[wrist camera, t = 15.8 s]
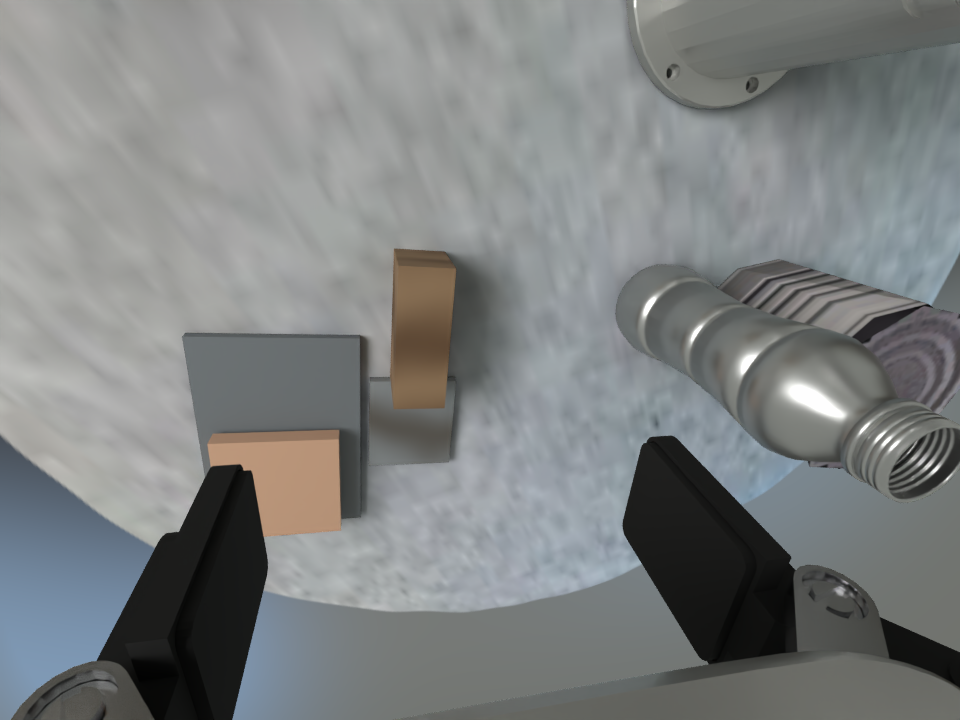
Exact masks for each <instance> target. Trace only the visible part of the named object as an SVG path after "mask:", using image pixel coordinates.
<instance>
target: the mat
mask: <svg viewBox="0 0 960 720" xmlns="http://www.w3.org/2000/svg"><path fill="white" fill-rule="evenodd" d="M182 339H183V345H184V351H185V357H186V363H187V369H188V375H189V382H190V388H191V394H192V400H193V406H194V412H195V418H196V424H197V430H198V437H199V443H200V449H201V455H202V461H203V467H204V473H205V477H206V475H207V473H208V471H209V469H210V468H211V465H210V458H209V452H208V445H207V444H208V442H209V440H210V438H211V436H212V434H219V433H250V432H281V431H313V430H339V433H340V474H341V516H342V519H344V518H357V517H361V479H360V335H301V334H221V333H185V334H184V335H183V336H182Z"/></svg>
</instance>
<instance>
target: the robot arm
mask: <svg viewBox="0 0 960 720" xmlns="http://www.w3.org/2000/svg"><path fill="white" fill-rule="evenodd" d="M626 1H627V15H628V25H629V29H630V34H631V38H632V42H633V47H634V49H635V51H636V54H637V56H638V58H639V61H640V63H641V65H642V67H643V69H644V70H645V72H646V73H647V75H648V76H649V78H650V79H651V81H652V82H653V83H654V84H655V85H656V86H657V87H658V88H659V89H660V90H661V91H662V92H663V93H664V94H665V95H666V96H668V97H670V98H672V99H673V100H675V101H677V102H679V103H680V104H683V105H687V106H690V107H694V108H704V109H716V108H724V107H732V106H735V105H738V104H741V103H744V102H747V101H749V100H751V99H753V98H754V97H756V96H758V95H760V94H761V93H763V92H765V91H766V90H768V89H769V88H770V87H771V86H772V85H774V84H775V83H776V82H777V81H778V80H780V79H781V78H782V77H783V76H784V75H785V74H786V73H787V71H788V70H789V69H795V68H801V67H807V66H814V65H820V64H827V63H833V62H839V61H846V60H852V59H858V58H865V57H871V56H878V55H884V54H890V53H897V52H903V51H910V50H916V49H922V48H929V47H935V46H941V45H948V44H954V43H960V0H626ZM667 71H668V76H666V74H667ZM623 531H624V535H625V537H626V538H627V540H628V542H629V543H630V545H631V547H632V548H633V550H634V552H635V553H636V555H637V556H638V558H639V560H640V561H641V563H642V565H643V566H644V568H645V570H646V571H647V573H648V574H649V576H650V578H651V579H652V581H653V583H654V584H655V586H656V587H657V589H658V591H659V592H660V594H661V596H662V597H663V599H664V601H665V602H666V604H667V606H668V607H669V609H670V610H671V612H672V614H673V615H674V617H675V619H676V620H677V622H678V623H679V625H680V627H681V628H682V630H683V632H684V633H685V635H686V637H687V638H688V640H689V641H690V643H691V645H692V646H693V648H694V650H695V651H696V653H697V654H698V656H699V657H700V658H701V659H702V660H704V661H707V662H708V663H709V665H703V666H698V667H691V668H686V669H680V670H673V671H668V672H662V673H656V674H650V675H644V676H638V677H632V678H626V679H620V680H615V681H609V682H603V683H598V684H592V685H586V686H581V687H574V688H569V689H563V690H557V691H552V692H546V693H540V694H535V695H529V696H523V697H518V698H512V699H506V700H501V701H495V702H489V703H484V704H478V705H473V706H467V707H462V708H456V709H451V710H445V711H440V712H434V713H429V714H423V715H417V716H412V717H407V718H401V719H396V720H960V652H958V651H955V650H953V649H951V648H949V647H946V646H944V645H942V644H940V643H937V642H935V641H933V640H930V639H928V638H926V637H924V636H921V635H919V634H917V633H915V632H912V631H910V630H908V629H905V628H903V627H901V626H899V625H896V624H894V623H892V622H889V621H887V620H885V619H883V618H881V617H880V616H879V613H878V609H877V607H876V605H875V603H874V601H873V600H872V598H871V597H870V596H869V595H868V593H867V592H866V591H865V590H864V589H862V588H861V587H860V586H859V585H858V584H857V583H855V582H854V581H852V580H851V579H849V578H848V577H846V576H844V575H843V574H841V573H838V572H836V571H834V570H832V569H829V568H825V567H822V566H818V565H805V566H801V567H799V568H798V569H797V570H795V569H794V568H793V567H792V566H791V565H790V564H789V562H790V559H791V556H790V555H789V554H788V553H787V552H786V551H785V550H784V549H783V548H782V547H781V546H780V545H779V544H778V543H777V542H776V541H775V540H774V539H773V537H772V536H770V534H769V533H768V532H767V531H766V530H765V529H764V528H763V527H762V526H761V525H760V524H759V523H758V522H757V521H756V520H755V519H754V518H753V517H752V516H751V515H750V514H749V513H748V512H747V511H746V510H745V509H744V508H743V506H742V505H741V504H740V503H739V502H738V501H737V500H736V499H735V498H734V497H733V496H732V495H731V494H730V493H729V492H728V491H727V490H726V489H725V488H724V487H723V486H722V485H721V484H720V483H719V482H718V481H717V480H716V479H715V478H714V477H713V475H712V474H711V473H710V472H709V471H708V470H707V469H706V468H705V467H704V466H703V465H702V464H701V463H700V462H699V461H698V460H697V459H696V458H695V457H694V456H693V455H692V454H691V453H690V452H689V451H688V450H687V449H686V448H685V447H684V446H683V444H682V443H681V442H680V441H679V440H678V439H677V438H675V437H674V436H658V437H651V438H649V439H648V440H647V443H644V444H643V445H642V447H641V450H640V454H639V458H638V462H637V466H636V470H635V474H634V479H633V483H632V487H631V491H630V495H629V499H628V503H627V507H626V511H625V515H624V519H623ZM267 570H268V559H267V553H266V547H265V542H264V536H263V530H262V524H261V519H260V513H259V507H258V502H257V496H256V490H255V484H254V479H253V474H252V471H251V470H246V471H244V470H243V467H242V465H240V464H235V465H220V466H212V467H211V468H210V469H209V471H208V473H207V475H206V477H205V479H204V481H203V483H202V485H201V487H200V489H199V491H198V493H197V496H196V498H195V500H194V502H193V504H192V506H191V508H190V510H189V512H188V514H187V516H186V518H185V520H184V522H183V525H182V527H181V529H180V531H179V532H173V533H166V534H165V535H164V536H162V538H161V539H160V541H159V542H158V544H157V546H156V548H155V550H154V552H153V553H152V556H151V557H150V559H149V561H148V563H147V565H146V567H145V569H144V571H143V573H142V575H141V577H140V578H139V580H138V582H137V584H136V586H135V588H134V590H133V592H132V594H131V596H130V598H129V600H128V601H127V603H126V605H125V607H124V609H123V611H122V613H121V615H120V617H119V619H118V621H117V623H116V624H115V627H114V628H113V630H112V632H111V634H110V636H109V638H108V640H107V642H106V644H105V646H104V648H103V649H102V651H101V653H100V655H99V657H98V659H97V661H92V662H88V663H85V664H82V665H78V666H75V667H72V668H70V669H68V670H67V671H65V672H63V673H61V674H59V675H57V676H55V677H53V678H52V679H51V680H50V681H48V682H47V683H45V684H44V685H42V686H41V687H40V688H38V689H37V690H36V691H35V692H34V693H33V694H32V695H31V696H30V697H29V698H28V699H27V700H26V701H25V702H24V703H23V704H22V705H21V706H20V707H19V709H18V710H17V712H16V713H15V714H14V716H13V717H12V719H11V720H232V718H233V714H234V710H235V706H236V702H237V698H238V693H239V689H240V685H241V681H242V677H243V673H244V669H245V664H246V660H247V656H248V652H249V647H250V643H251V639H252V635H253V631H254V627H255V623H256V619H257V614H258V610H259V606H260V602H261V598H262V593H263V590H264V585H265V581H266V577H267Z"/></svg>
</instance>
